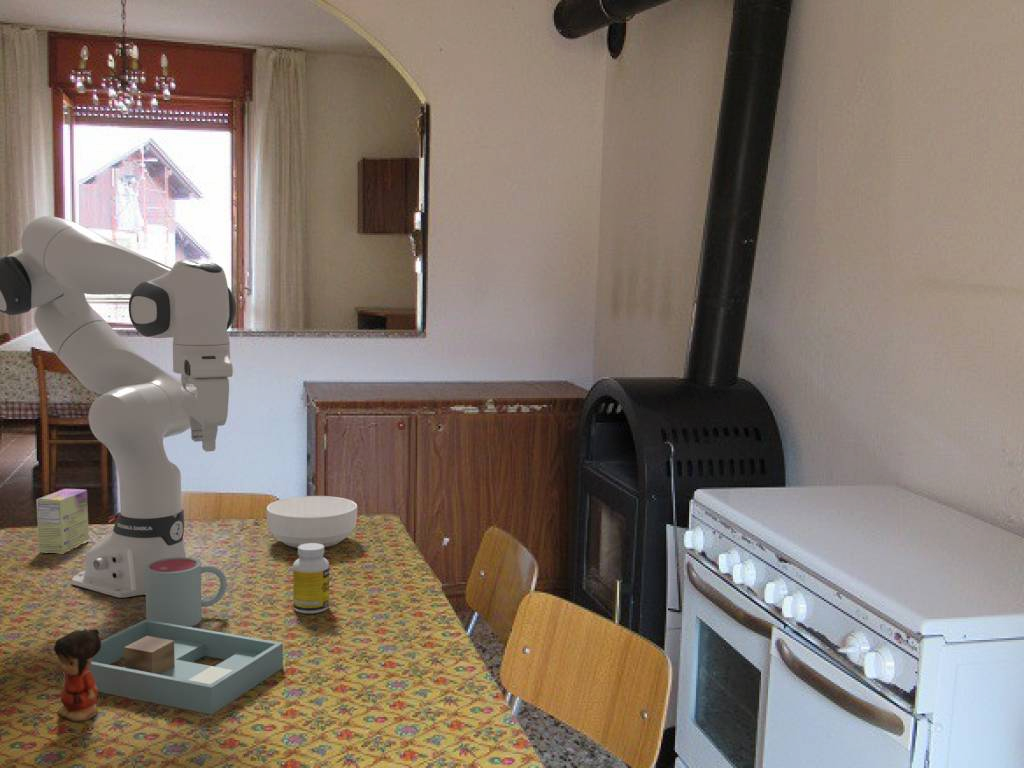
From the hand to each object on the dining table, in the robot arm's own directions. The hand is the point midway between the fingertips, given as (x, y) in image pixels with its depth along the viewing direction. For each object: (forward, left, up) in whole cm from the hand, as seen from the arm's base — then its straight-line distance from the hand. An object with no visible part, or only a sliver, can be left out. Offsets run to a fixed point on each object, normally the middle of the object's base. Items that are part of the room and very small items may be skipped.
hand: (203, 445), depth 169 cm
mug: (-8, +6, -33) cm, 34 cm away
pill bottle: (+9, +19, -33) cm, 39 cm away
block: (+4, -18, -31) cm, 36 cm away
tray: (+6, -15, -33) cm, 36 cm away
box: (-59, +31, -33) cm, 75 cm away
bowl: (-13, +56, -33) cm, 66 cm away
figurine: (+1, -31, -33) cm, 45 cm away
